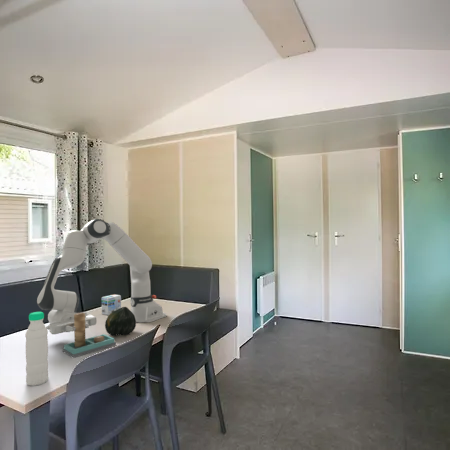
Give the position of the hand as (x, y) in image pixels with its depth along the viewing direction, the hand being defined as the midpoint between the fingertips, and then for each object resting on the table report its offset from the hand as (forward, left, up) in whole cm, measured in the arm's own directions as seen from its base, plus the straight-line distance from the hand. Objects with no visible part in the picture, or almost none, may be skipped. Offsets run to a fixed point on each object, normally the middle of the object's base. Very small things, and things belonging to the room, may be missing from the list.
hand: (80, 327), depth 150 cm
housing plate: (-5, -1, -11) cm, 12 cm away
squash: (-25, -8, -11) cm, 28 cm away
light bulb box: (-43, -51, -11) cm, 67 cm away
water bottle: (+23, +17, -11) cm, 31 cm away
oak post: (0, -1, -8) cm, 8 cm away
